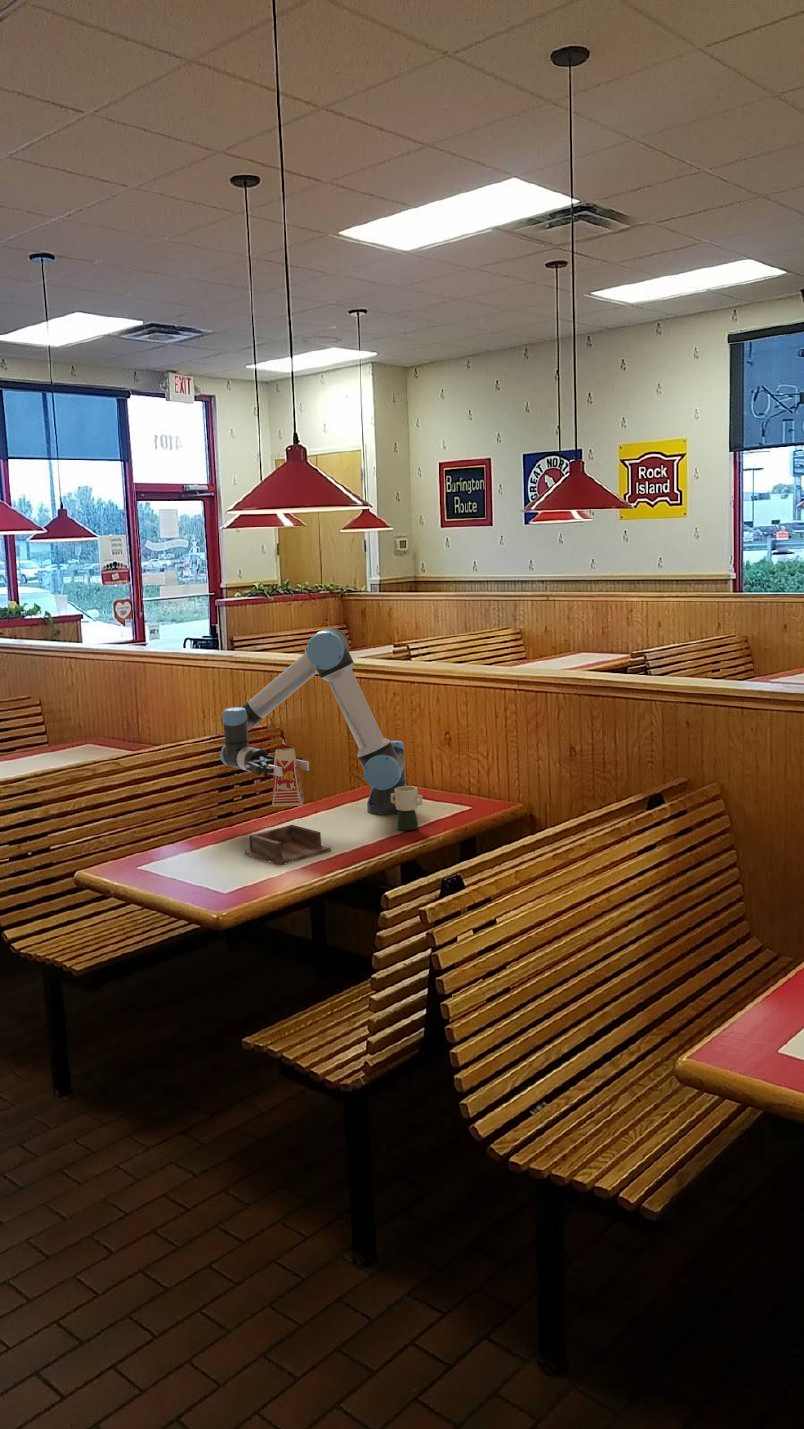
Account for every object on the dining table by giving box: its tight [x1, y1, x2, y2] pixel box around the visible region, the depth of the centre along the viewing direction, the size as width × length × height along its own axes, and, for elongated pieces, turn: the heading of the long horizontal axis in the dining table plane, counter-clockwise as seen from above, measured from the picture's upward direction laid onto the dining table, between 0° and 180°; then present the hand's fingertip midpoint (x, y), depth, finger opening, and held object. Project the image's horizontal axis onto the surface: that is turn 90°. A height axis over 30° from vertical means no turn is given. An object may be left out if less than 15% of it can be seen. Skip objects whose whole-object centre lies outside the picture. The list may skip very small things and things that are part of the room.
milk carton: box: [271, 739, 305, 807], centre depth 335 cm, size 9×9×20 cm
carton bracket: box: [243, 824, 332, 866], centre depth 322 cm, size 18×18×6 cm
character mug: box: [391, 785, 423, 831], centre depth 341 cm, size 11×7×13 cm, turn 62°
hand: (294, 769), depth 332 cm, fingers closed on milk carton, 9 cm apart
